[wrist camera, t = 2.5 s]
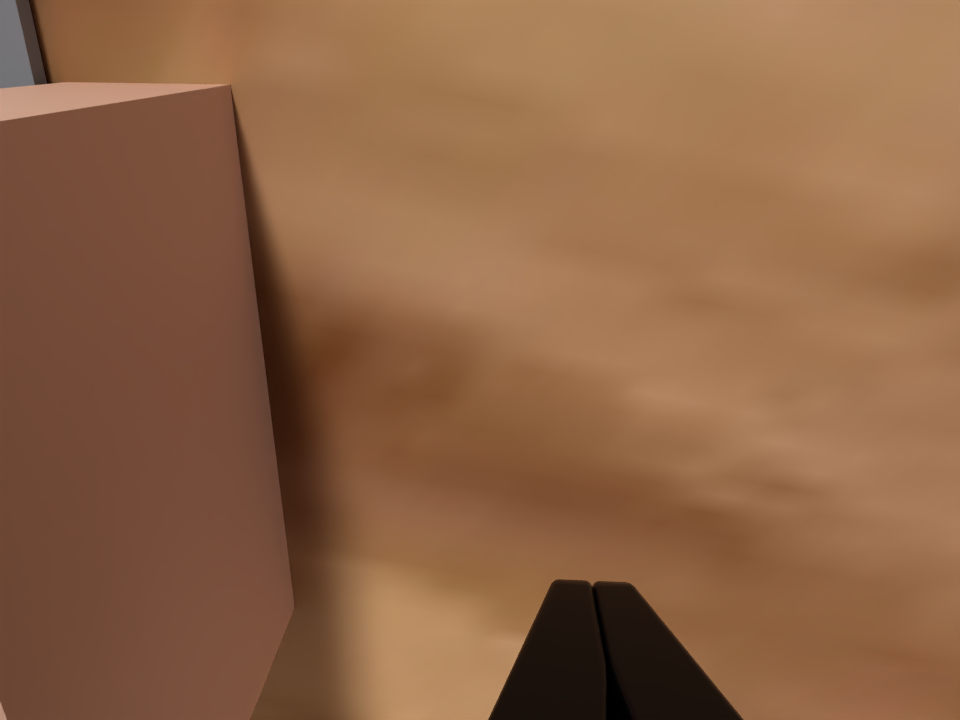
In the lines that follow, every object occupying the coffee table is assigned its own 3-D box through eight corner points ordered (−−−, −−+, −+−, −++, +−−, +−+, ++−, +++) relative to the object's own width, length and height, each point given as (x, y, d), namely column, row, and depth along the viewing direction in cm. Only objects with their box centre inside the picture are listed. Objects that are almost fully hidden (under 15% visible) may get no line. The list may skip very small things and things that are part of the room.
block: (231, 84, 11) (-205, 152, 4) (296, 604, 15) (123, 1038, 8) (67, 81, 11) (-595, 144, 4) (176, 599, 15) (-83, 1022, 8)
